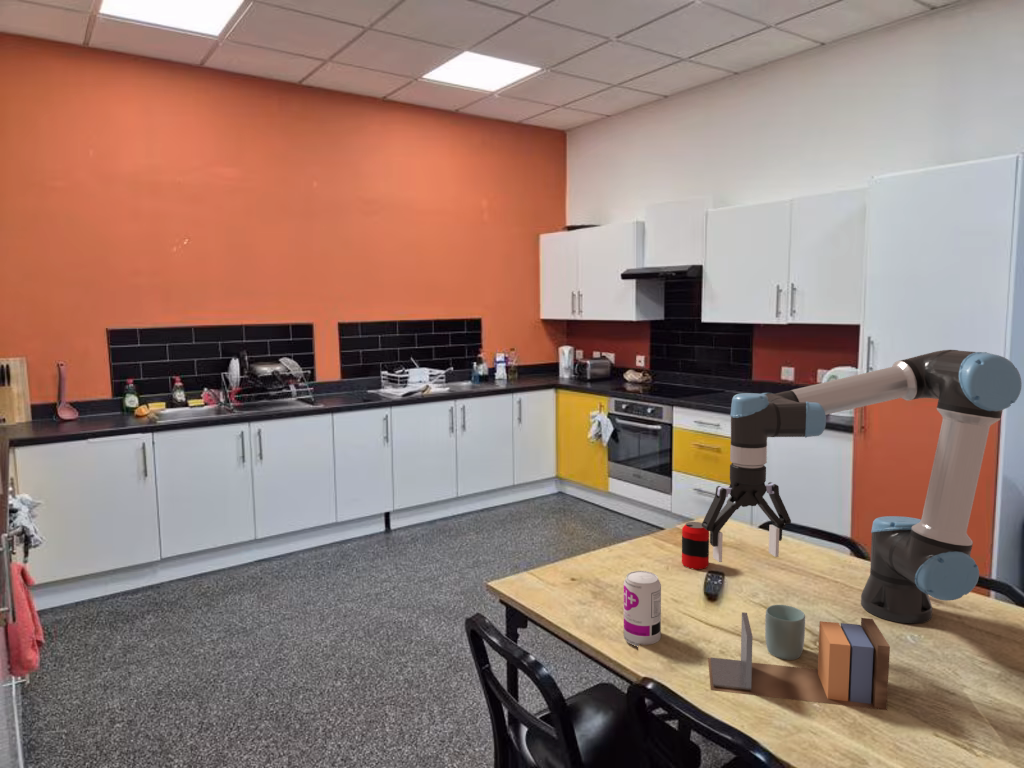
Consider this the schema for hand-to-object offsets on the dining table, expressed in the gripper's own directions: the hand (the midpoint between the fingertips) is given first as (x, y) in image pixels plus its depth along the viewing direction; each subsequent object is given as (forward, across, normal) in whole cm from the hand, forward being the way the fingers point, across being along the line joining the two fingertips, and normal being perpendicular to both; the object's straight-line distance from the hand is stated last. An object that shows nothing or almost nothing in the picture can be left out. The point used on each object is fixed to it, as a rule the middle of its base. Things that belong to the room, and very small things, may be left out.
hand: (745, 557), depth 147 cm
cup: (+20, -4, +9) cm, 22 cm away
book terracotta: (+18, -6, +23) cm, 29 cm away
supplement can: (+20, +23, -4) cm, 30 cm away
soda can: (+20, -9, -43) cm, 48 cm away
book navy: (+18, -9, +24) cm, 32 cm away
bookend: (+18, +12, +15) cm, 26 cm away
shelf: (+19, +1, +20) cm, 27 cm away
